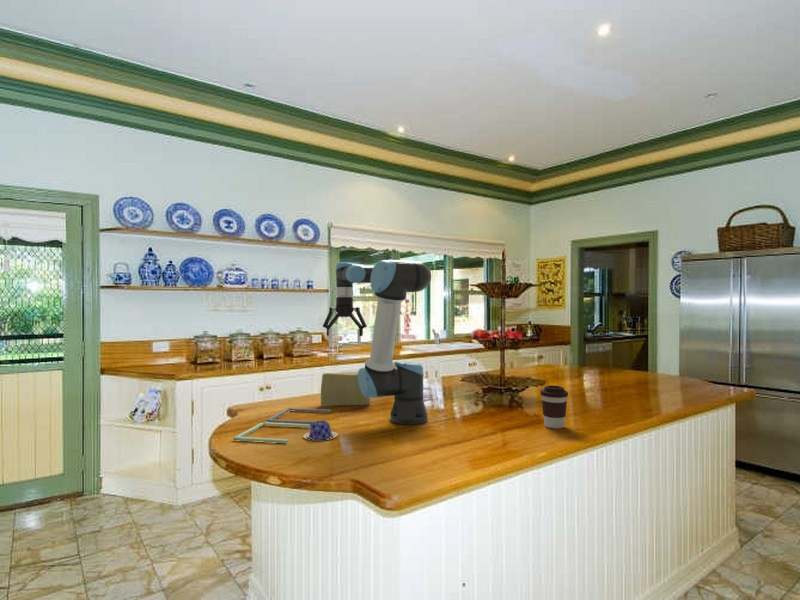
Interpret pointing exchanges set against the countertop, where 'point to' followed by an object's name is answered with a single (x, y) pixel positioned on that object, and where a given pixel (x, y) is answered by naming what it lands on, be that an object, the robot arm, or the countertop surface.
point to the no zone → (296, 420)
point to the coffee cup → (554, 406)
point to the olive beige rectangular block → (342, 390)
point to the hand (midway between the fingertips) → (344, 343)
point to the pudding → (320, 431)
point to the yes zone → (242, 438)
